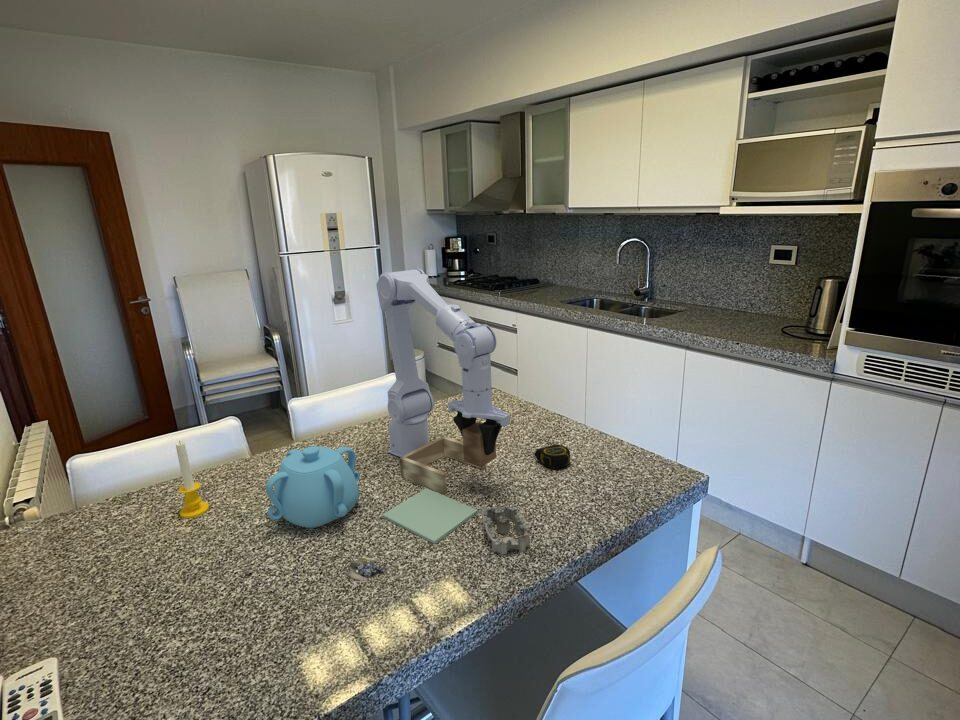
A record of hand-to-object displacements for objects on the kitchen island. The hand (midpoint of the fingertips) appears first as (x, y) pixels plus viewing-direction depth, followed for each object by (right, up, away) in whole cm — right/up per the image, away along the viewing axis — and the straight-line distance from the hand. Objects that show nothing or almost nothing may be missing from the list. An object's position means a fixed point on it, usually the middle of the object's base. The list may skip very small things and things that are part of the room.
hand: (479, 449), depth 104 cm
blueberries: (-18, -17, -20) cm, 32 cm away
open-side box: (-8, -7, +10) cm, 14 cm away
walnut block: (0, -2, +1) cm, 2 cm away
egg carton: (+5, -13, -13) cm, 19 cm away
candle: (-58, -12, -1) cm, 59 cm away
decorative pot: (-32, -12, -3) cm, 34 cm away
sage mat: (-10, -11, -6) cm, 16 cm away
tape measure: (+17, -5, +12) cm, 21 cm away
